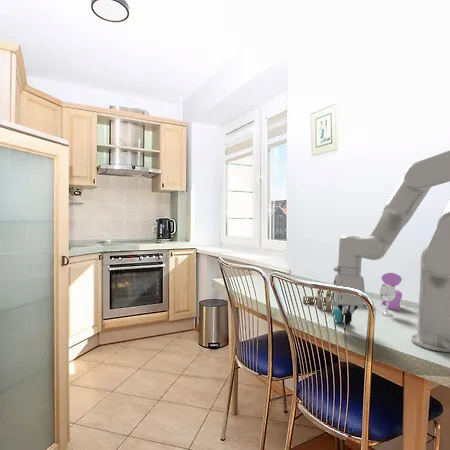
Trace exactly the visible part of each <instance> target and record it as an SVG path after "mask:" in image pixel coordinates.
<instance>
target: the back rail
mask: <svg viewBox="0 0 450 450" xmlns="http://www.w3.org/2000/svg"><path fill="white" fill-rule="evenodd" d="M305 296H306V295H303V297H302V299H303V300H302V303H303V304H304V305H307V304H306V300H305ZM313 297H315V300H316V304H314V302H313ZM313 297H312V296H310V295H309V296H308V295H307V298H308V302H309V304H308V305H317V296H313ZM323 298H324V303H325V305H324V306H326V296H323Z"/></svg>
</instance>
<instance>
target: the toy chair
mask: <svg viewBox="0 0 450 450" xmlns="http://www.w3.org/2000/svg"><path fill="white" fill-rule="evenodd" d="M402 279H403V278H402V277H401V275H399V274H398V273H395V272H387V273H384V274H383V275H381V281H382V282H383V284H387V285H393V286H395V287H396V286H398V285H399V286H400V284H401V282H402ZM395 292H396V296H395V299H394V300H392V301H388V303H389V304H388V310H394V311H395V310H396V311H402V308H401V300H402V297H403V292H401V291H400V290H398V289H395ZM386 302H387V301H385V300H383V299H382V302H381V305H386ZM385 310H386V307H385Z"/></svg>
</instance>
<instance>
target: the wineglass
mask: <svg viewBox="0 0 450 450" xmlns="http://www.w3.org/2000/svg"><path fill="white" fill-rule="evenodd" d="M395 290H396V286H393V285H387V284H385V283H383V284H381V286H380V289H379V296H380V298H381V299H382V301H383V300H385V301H387V302H386V306H385V308H386V309H385V312H381V313H380V315H381V316H384V317H393V314H392V313H389V312H388V310H389V309H388V304H389V303H388V301H392V300H394V299H395V296H396V292H395Z"/></svg>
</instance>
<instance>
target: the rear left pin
mask: <svg viewBox="0 0 450 450" xmlns="http://www.w3.org/2000/svg"><path fill="white" fill-rule="evenodd" d="M324 291H325V290H322V293H323V294H324ZM316 292H317V296H316V297H317V304H316V309H321V310H322V309H323V307H324V306H323V307H322V300H321V295H320V290H318V289H317V291H316Z"/></svg>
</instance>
